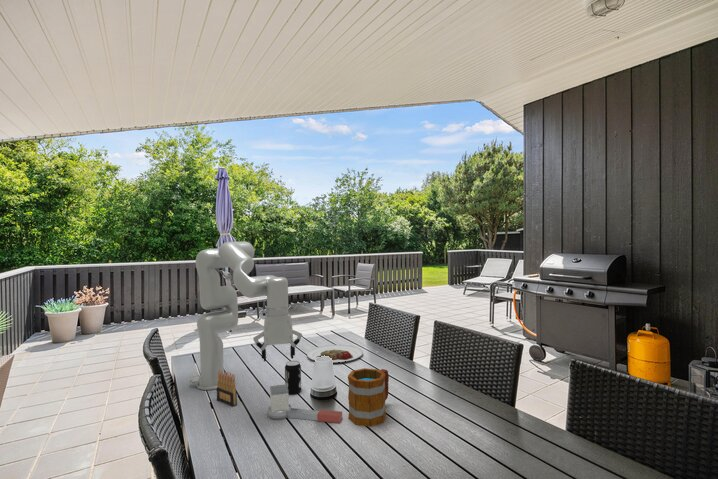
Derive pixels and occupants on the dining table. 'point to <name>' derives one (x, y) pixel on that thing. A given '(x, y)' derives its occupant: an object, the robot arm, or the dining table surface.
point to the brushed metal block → (279, 398)
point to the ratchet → (307, 415)
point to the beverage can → (293, 377)
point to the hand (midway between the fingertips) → (278, 358)
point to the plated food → (336, 352)
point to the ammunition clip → (226, 389)
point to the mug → (367, 396)
